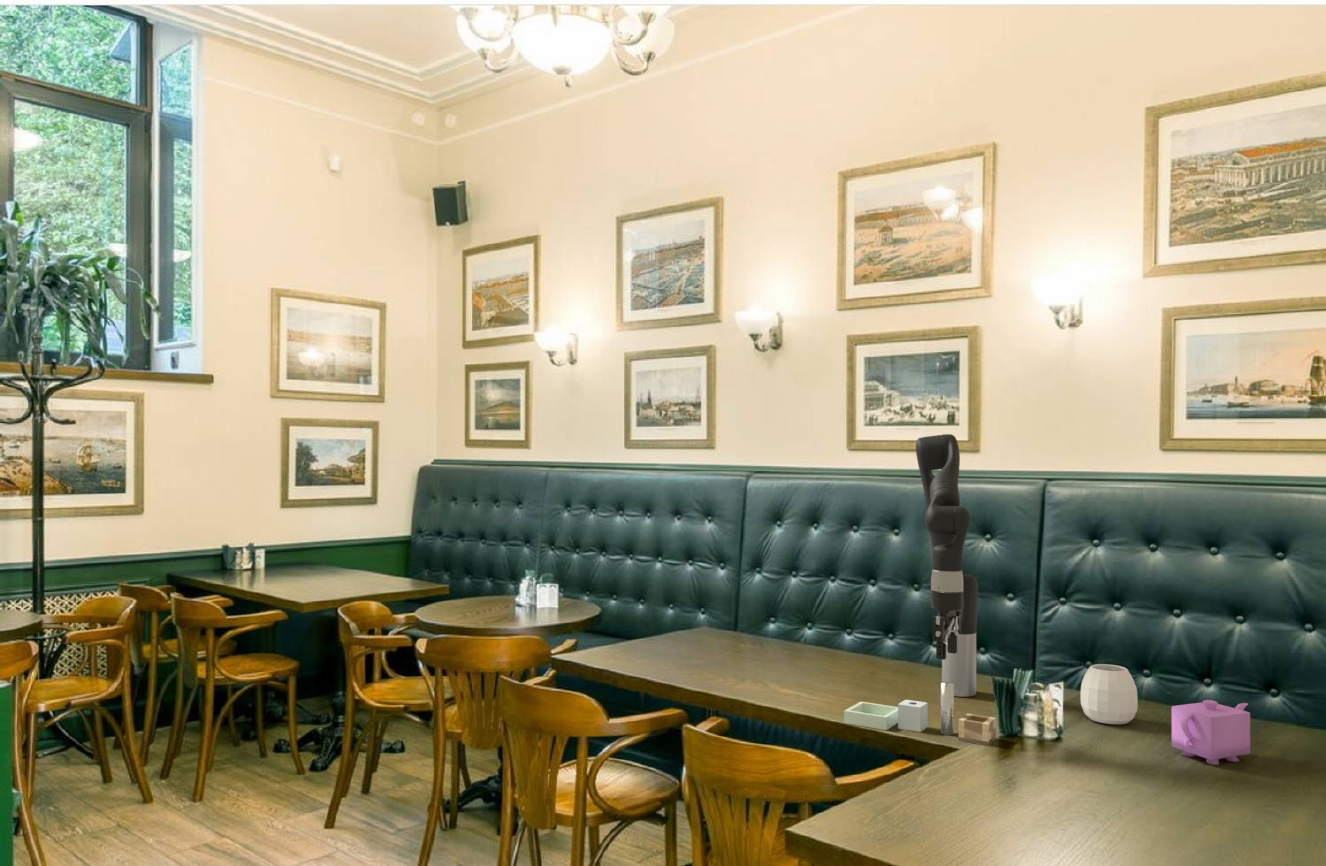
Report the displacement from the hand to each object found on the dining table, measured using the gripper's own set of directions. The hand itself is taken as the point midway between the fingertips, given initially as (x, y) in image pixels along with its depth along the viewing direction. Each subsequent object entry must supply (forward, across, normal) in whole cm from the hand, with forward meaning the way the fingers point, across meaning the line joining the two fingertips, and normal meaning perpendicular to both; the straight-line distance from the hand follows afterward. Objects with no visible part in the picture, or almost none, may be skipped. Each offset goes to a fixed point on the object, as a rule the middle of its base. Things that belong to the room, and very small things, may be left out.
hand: (946, 656), depth 240 cm
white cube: (+19, 0, -8) cm, 20 cm away
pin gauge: (+18, 0, 0) cm, 19 cm away
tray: (+18, 0, -18) cm, 26 cm away
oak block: (+19, +1, +8) cm, 20 cm away
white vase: (+18, -34, +30) cm, 49 cm away
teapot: (+19, -16, +56) cm, 61 cm away
